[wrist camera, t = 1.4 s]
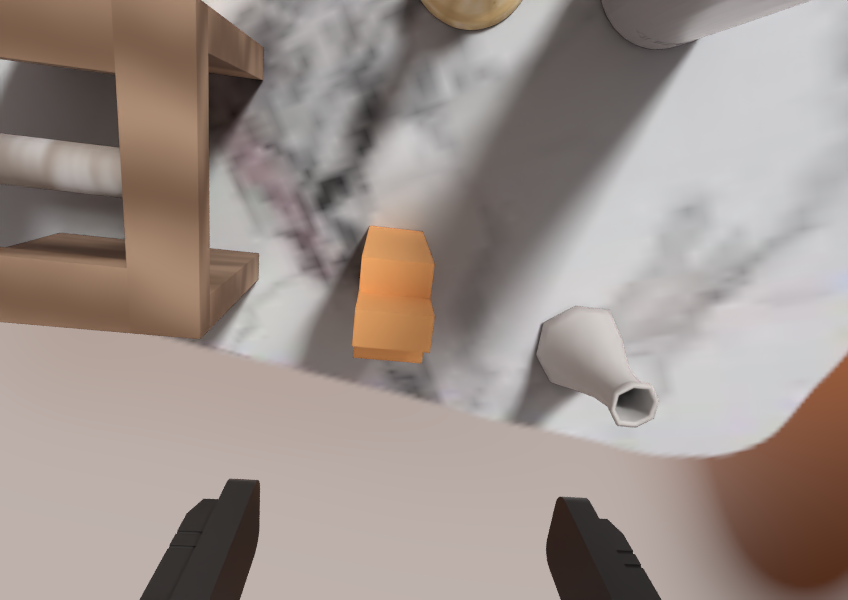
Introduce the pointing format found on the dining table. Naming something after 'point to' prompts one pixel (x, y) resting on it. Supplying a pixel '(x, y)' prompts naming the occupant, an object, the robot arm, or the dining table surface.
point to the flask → (595, 363)
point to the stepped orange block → (394, 297)
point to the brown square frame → (128, 169)
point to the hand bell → (471, 12)
